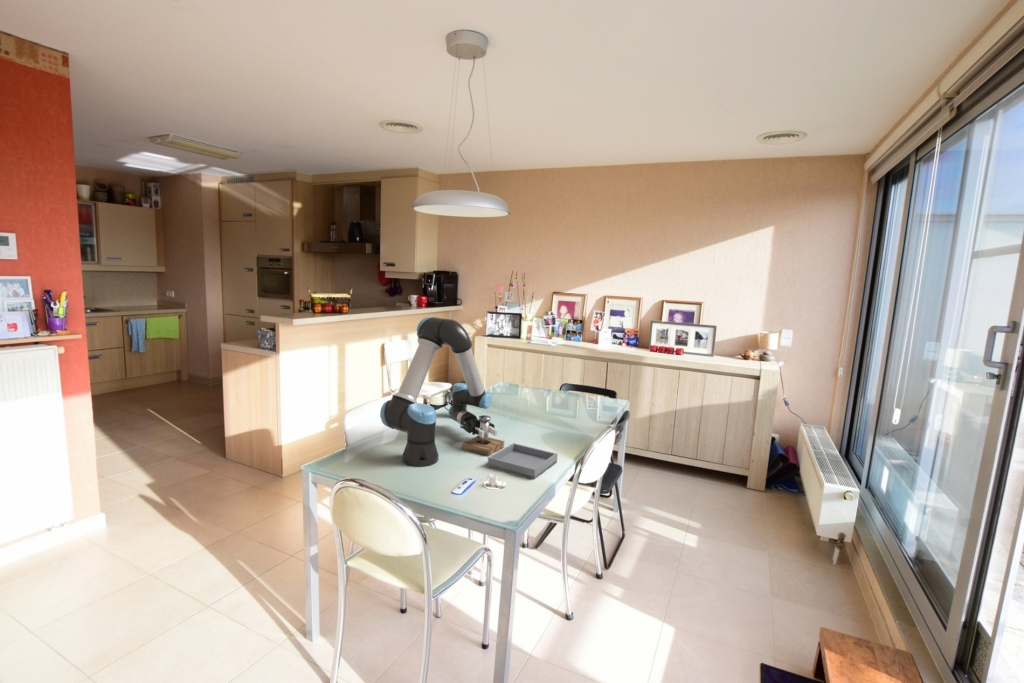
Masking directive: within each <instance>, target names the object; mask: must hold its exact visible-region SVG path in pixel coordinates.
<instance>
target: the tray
mask: <svg viewBox="0 0 1024 683" xmlns="http://www.w3.org/2000/svg"><path fill="white" fill-rule="evenodd" d="M487 457H488V458H487V468H488V467H489V468H492V469H495V470H498V471H503V472H506V473H510V474H513V475H516V474H517V476H521V477H524V476H525V478H527V477H528V479H531V480H536V479H537V478H539V477H540V476H541V475H542V474H544V473H545V472H547V471H548V470H549V469H551V468H552V467H553V466H554V465H556V464H557V463H558V453H555V452H551V451H547V450H543V449H539V448H535V447H532V446H527V445H523V444H519V443H515V442H513V443H512V444H509V445H508V446H506V447H504V448H502V449H500V450H499V451H497V452H495V453H493V454H491V455H490V456H487Z"/></svg>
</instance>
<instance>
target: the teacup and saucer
mask: <svg viewBox="0 0 1024 683" xmlns="http://www.w3.org/2000/svg"><path fill="white" fill-rule="evenodd" d="M488 477H489V478H488ZM498 478H499V476H498V475H497V474H493V473H492V474H490V475H487V476H486V481H484V482H483V483H482V486H483V487H484V488H486V489H489V490H499V489H502V488H505V487H506V486H507V483H506V482H505V481H500V480H498ZM488 483H489V485H490V486H491V487H489V486H487V484H488ZM495 486H496V487H495Z"/></svg>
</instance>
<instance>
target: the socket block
mask: <svg viewBox="0 0 1024 683" xmlns="http://www.w3.org/2000/svg"><path fill="white" fill-rule="evenodd" d="M479 440H480V436H478V435H477V436H475V437H473V438H470V439H468V440H466V441H464V442H462V445H461V447H462V448H461V449H462V450H463V451H466V452H467V451H468V452H471V453H475V454H478V455H482V456H486V457H490V456H492V455H493V454H495V453H497V452H499V451H501V450H502V449H504V448H505V440H501V439H498V438H497V439H496V438H493V437H489V436H488V444H487V445H483V444H479Z"/></svg>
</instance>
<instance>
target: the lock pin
mask: <svg viewBox="0 0 1024 683" xmlns="http://www.w3.org/2000/svg"><path fill="white" fill-rule="evenodd" d="M491 418H492V417H491V416H490V415H479V416H478V420H479V421H480V428H479V429H480V430H481V431H483V432H484V438H481V437H480V440H479V444H483V445H487V444H488V437H489V433H490V432H489V422H490V421H491Z"/></svg>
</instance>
